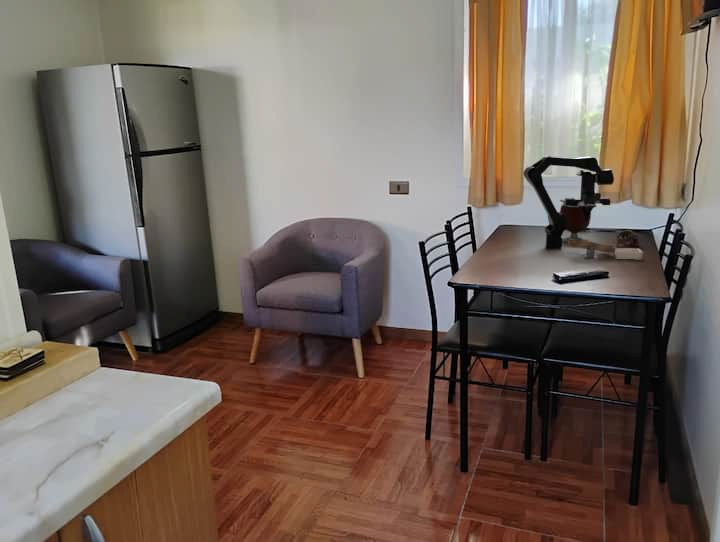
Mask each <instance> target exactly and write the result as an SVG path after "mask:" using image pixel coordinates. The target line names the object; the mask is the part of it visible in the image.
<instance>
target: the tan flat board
mask: <svg viewBox="0 0 720 542" xmlns="http://www.w3.org/2000/svg"><path fill="white" fill-rule="evenodd" d="M568 237H569V241H568V242H567V244H568V246H569V247H572V248H578V249H585V250H587V249H590V247H595V252H596V251H597V252H602V253H610V254H613V253H615V249H616V247H614V245H610V244H605V243H598V242H597V243H596V242H592V241H587V242H586V241H579V240H573V239H571V238H570V236H568Z"/></svg>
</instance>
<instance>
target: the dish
mask: <svg viewBox="0 0 720 542" xmlns="http://www.w3.org/2000/svg"><path fill="white" fill-rule="evenodd" d="M615 248H616V247H615ZM633 249H634V248H629V247H628V248H625V247H624V248H618V247H617V248H616V249H615V253H612V256H614V257H615V258H616V259H635V260H634V261H643V260H644V252H643V251H642V249H640V248H635V249H636V250H637V251H638V252H631V251H632V250H633ZM614 257H613V258H614ZM615 258H614V259H615ZM616 259H615V260H616Z"/></svg>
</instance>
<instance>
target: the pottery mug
mask: <svg viewBox="0 0 720 542" xmlns="http://www.w3.org/2000/svg"><path fill="white" fill-rule="evenodd" d="M620 237H621V238H620ZM615 244H616V246H617V247H619V246H620V245H625V244H630V245H637V246H638V247H640V240H639V237H638V234H637V233H635V232H634V231H633V230H630V229H625V230H622V231H620V232H618V234H616V241H615Z"/></svg>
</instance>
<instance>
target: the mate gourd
mask: <svg viewBox="0 0 720 542" xmlns="http://www.w3.org/2000/svg"><path fill="white" fill-rule="evenodd" d="M559 202H561V203H562V204H561V207H560V211H559V212H560V213H563V214H564V217H565V219H566V220H567V221H568V222H566V223H567V228H566V230H565V231H567V232H569V233H570V235H569V236H561V238H562V242H564V241H566V242H565V243H568V241H569V237H570V238H571V239H573V240H579V241H587V242H588V241H589V240H588V239H589V238H586V237H583V236H579V233H580V232H583V231H585V230H586V229H587V228H589V225H590V222H591V215H592V212H591V213H590V215H589V217H588V220H587V221H585V219H584V216H583V213H582V210H581V208H580V207H578V206H577V205H578V204H574V205H565V204H564V200H563V199H560V200H559ZM585 206H586V212H587V205H586V204H585Z"/></svg>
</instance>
